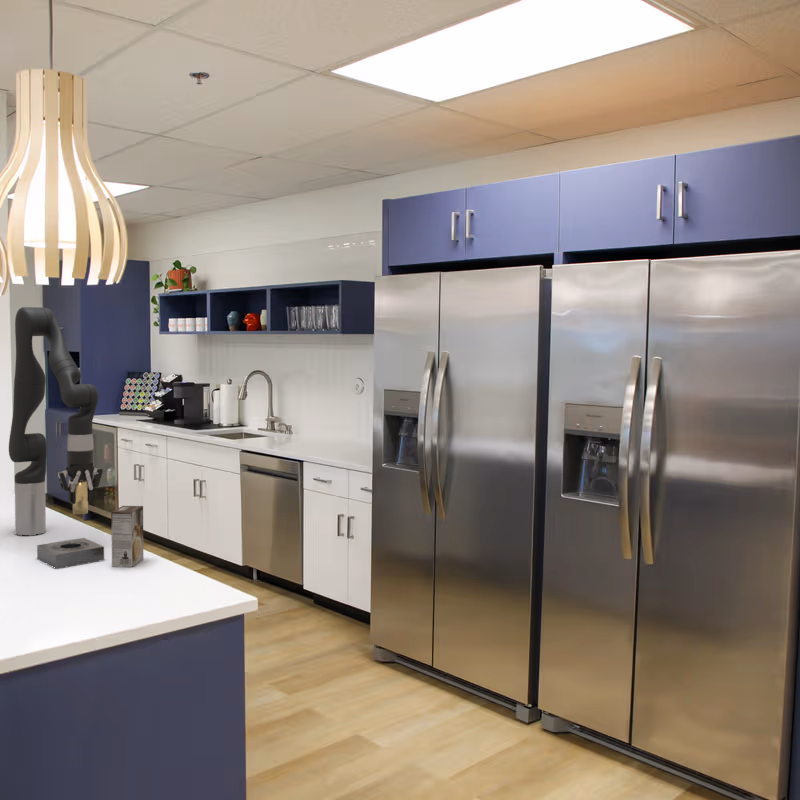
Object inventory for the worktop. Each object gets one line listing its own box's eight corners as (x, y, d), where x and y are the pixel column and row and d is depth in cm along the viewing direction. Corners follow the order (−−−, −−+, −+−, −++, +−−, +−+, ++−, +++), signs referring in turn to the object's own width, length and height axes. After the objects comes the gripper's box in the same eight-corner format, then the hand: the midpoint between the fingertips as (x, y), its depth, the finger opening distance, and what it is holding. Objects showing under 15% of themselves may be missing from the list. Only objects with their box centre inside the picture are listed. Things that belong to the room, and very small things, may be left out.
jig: (37, 558, 236) (37, 545, 235) (84, 550, 245) (84, 537, 245) (56, 568, 226) (55, 554, 225) (104, 560, 235) (104, 546, 235)
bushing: (70, 512, 249) (70, 480, 248) (84, 510, 252) (84, 479, 251) (76, 515, 246) (76, 482, 245) (90, 513, 249) (90, 481, 248)
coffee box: (122, 558, 238) (122, 505, 237) (144, 558, 238) (143, 505, 237) (111, 566, 229) (110, 511, 228) (133, 567, 229) (133, 512, 228)
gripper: (97, 445, 255) (97, 497, 257) (52, 448, 245) (52, 503, 246) (107, 448, 250) (107, 501, 251) (61, 451, 240) (62, 507, 241)
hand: (80, 502), depth 249 cm, fingers closed on bushing, 4 cm apart
